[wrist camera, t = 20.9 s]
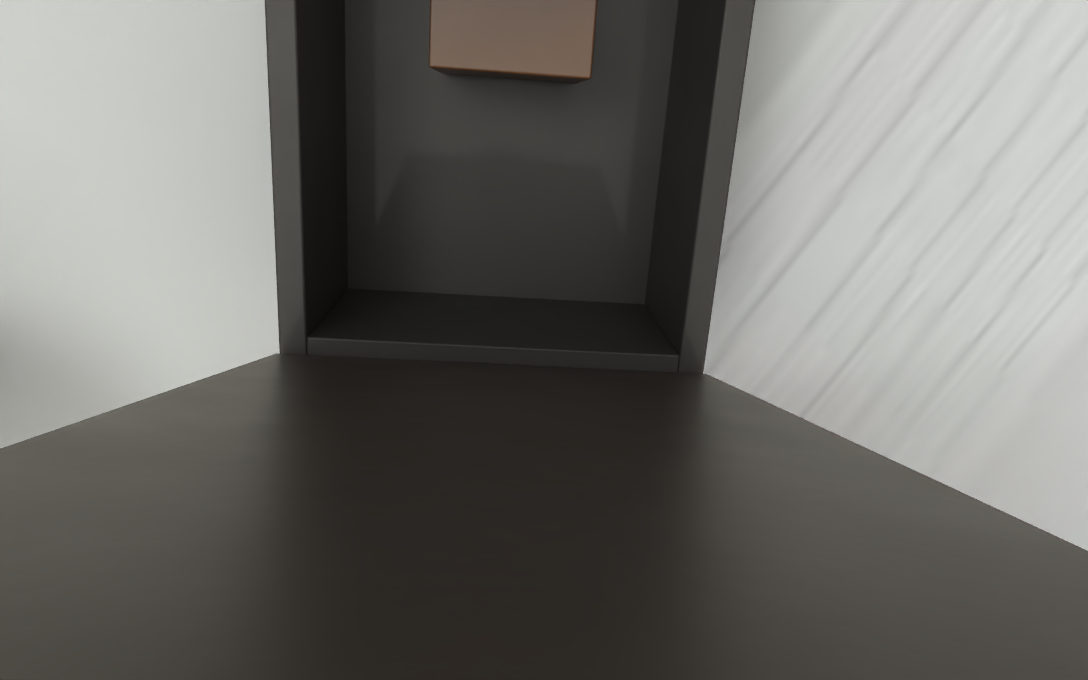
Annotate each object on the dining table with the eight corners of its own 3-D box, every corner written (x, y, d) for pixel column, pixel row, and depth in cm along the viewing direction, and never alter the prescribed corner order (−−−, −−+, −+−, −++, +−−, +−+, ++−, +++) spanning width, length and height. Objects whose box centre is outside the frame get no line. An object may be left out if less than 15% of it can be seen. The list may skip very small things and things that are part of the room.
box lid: (-663, 672, 4) (-650, 809, 4) (1437, 709, 5) (1419, 822, 5) (274, 353, 21) (274, 381, 21) (707, 373, 22) (705, 400, 22)
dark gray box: (321, -211, 23) (249, -334, 17) (716, -173, 24) (794, -275, 17) (331, 302, 28) (279, 361, 22) (658, 319, 29) (702, 381, 22)
